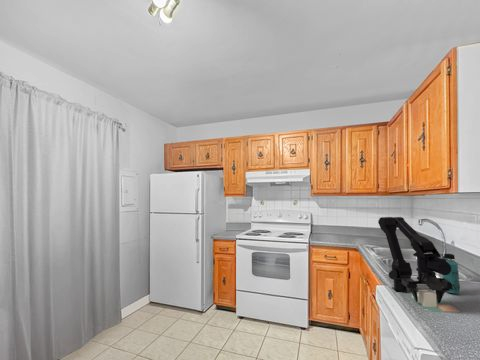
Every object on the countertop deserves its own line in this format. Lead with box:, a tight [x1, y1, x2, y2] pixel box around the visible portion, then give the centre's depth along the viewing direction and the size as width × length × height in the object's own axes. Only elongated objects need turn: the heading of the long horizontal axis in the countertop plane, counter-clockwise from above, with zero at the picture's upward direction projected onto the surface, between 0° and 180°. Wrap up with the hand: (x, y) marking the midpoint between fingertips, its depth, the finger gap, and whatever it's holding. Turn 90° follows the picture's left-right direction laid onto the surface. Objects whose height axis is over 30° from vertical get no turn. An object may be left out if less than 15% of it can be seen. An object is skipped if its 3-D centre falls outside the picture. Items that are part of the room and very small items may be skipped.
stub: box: [417, 289, 437, 307], centre depth 110 cm, size 4×5×6 cm
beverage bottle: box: [442, 253, 461, 294], centre depth 122 cm, size 6×7×20 cm
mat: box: [407, 295, 461, 314], centre depth 111 cm, size 16×13×1 cm
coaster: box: [437, 304, 461, 313], centre depth 106 cm, size 6×6×1 cm
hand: (427, 302), depth 110 cm, fingers open, 9 cm apart
